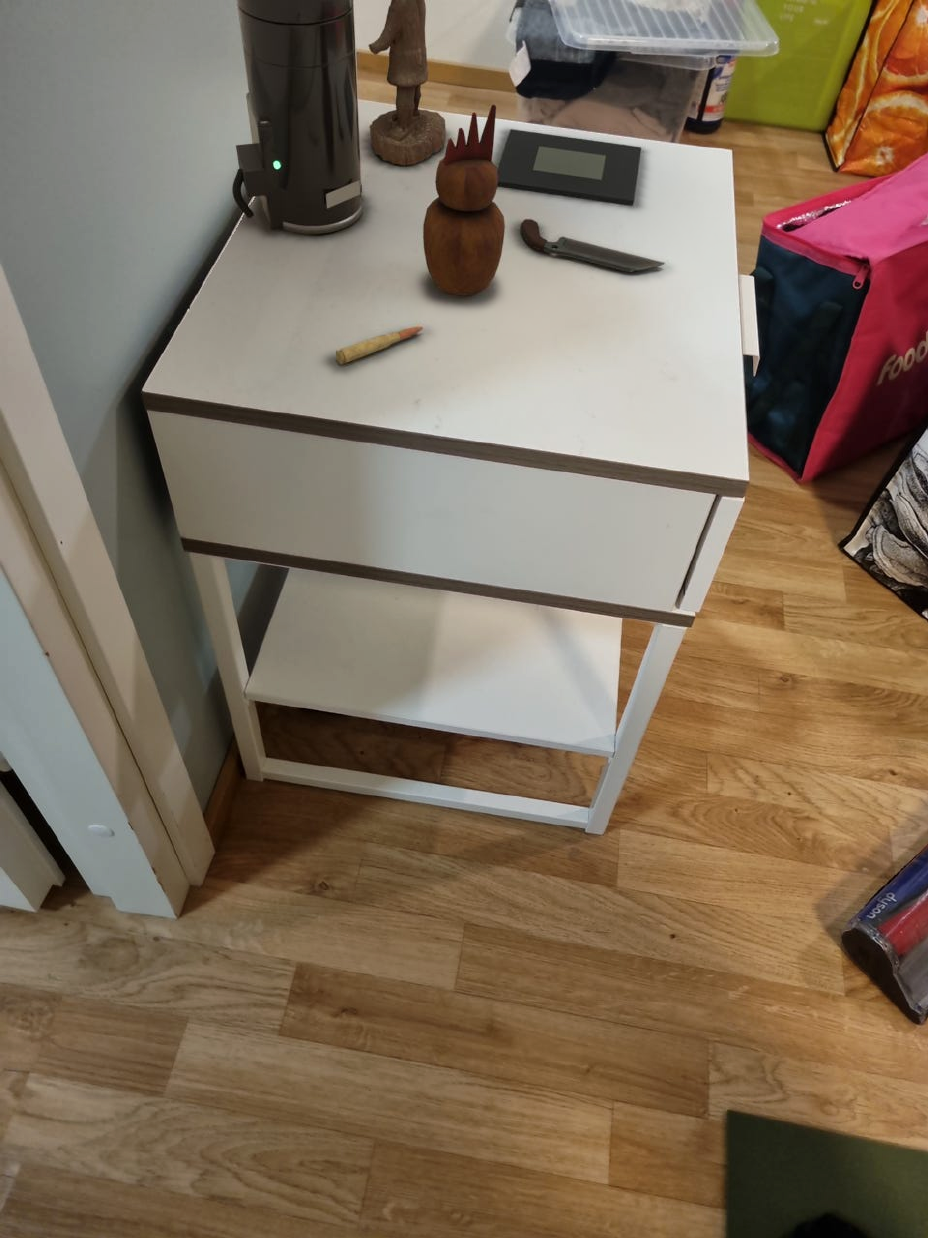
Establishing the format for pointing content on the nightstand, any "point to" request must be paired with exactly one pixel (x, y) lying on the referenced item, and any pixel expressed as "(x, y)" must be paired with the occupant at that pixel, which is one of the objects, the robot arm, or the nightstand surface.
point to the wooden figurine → (465, 215)
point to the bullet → (373, 345)
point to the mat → (569, 166)
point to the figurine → (406, 89)
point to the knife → (585, 250)
